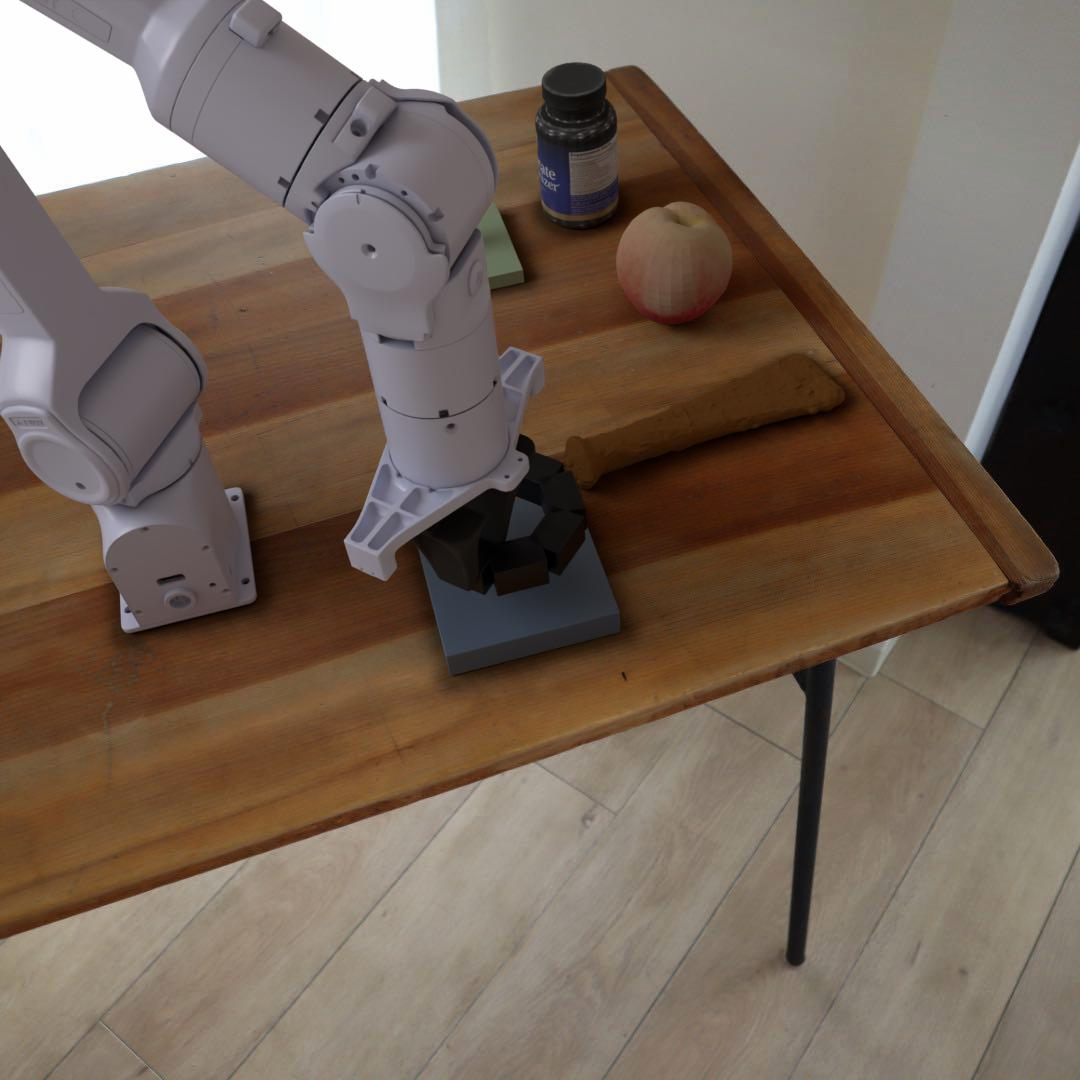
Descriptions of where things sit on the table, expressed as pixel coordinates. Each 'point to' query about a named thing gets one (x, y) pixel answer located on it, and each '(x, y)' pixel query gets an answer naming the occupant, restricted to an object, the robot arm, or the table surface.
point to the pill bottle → (577, 146)
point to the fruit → (674, 262)
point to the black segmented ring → (537, 533)
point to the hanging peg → (499, 251)
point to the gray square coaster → (523, 608)
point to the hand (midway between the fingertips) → (471, 562)
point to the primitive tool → (708, 417)
